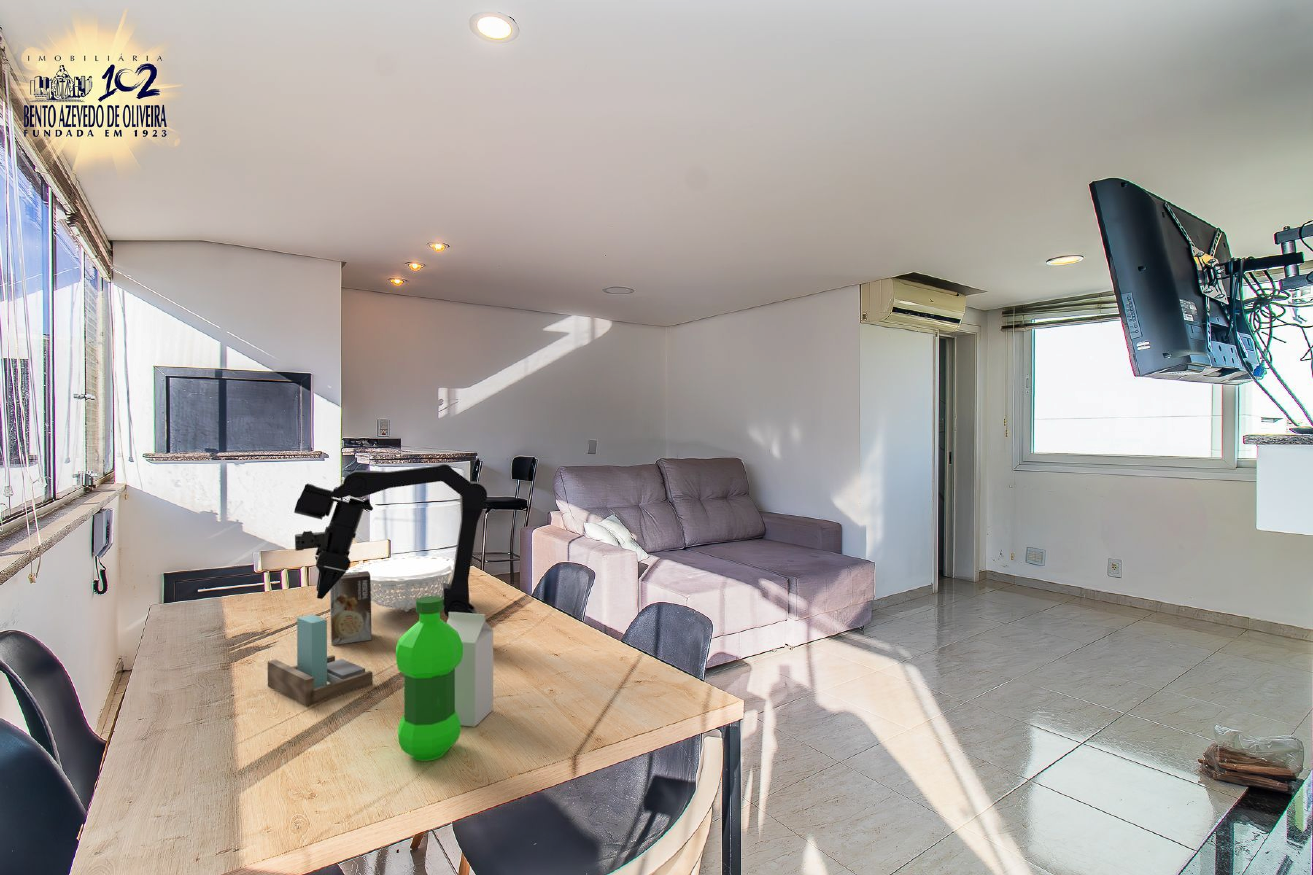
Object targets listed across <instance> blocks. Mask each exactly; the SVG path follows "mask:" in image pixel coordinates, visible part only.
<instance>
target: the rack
mask: <svg viewBox="0 0 1313 875" xmlns="http://www.w3.org/2000/svg"><path fill="white" fill-rule="evenodd" d="M333 661H336V656H335V655H333V654H331V655H329V656H328V655H327V663H330V662H333ZM373 679H374V678H373V671H371V670H369V671H365V673H362V674H359V675H355V676H352V677H349V678H346V679H343V680H340V681H337V682H333V683H330V682H329V683H327V685H324V686H321V687H318V688H315V689H314V677H311V676H309V675H307V674H305V673H303V672H301V671H299V670H297V665H292V666H290V665H289V664H286V663H284V662H282V661H281V660H278V659H276V658H275V659H271V660H268V661H267V686H268V687H270V689H273V690H275V691H276V692H278V693H280V694H282V695H284V696H286V697H288V698H289V699H291V700H293V701H295V702H297V703H299V704H300V705H302V706H304V707H310V706H312V705H314V704H317V703H320V702H324V701H327V700H329V699H333V698H336V697H339V696H341V695H344V694H347V693H350V692H354V691H356V690H360V689H363V688H365V687H368V686H371V685H373Z"/></svg>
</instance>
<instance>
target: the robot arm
mask: <svg viewBox="0 0 1313 875" xmlns="http://www.w3.org/2000/svg"><path fill="white" fill-rule="evenodd" d="M439 482H443V483H444V485H447V486H448V487H449V488H451V489H452V490H453V491H455V492H456V493H457V494H458V495H459V498H460V499H459V503H460V504H459V505H460V507H459V508H460V525H459V530H458V537H457V542H456V549H455V554H454V556H455V557H454V559H455V560H453V561H454V566H453V573H451V577H450V578H449V579H450V580H449V581H448V584H447V583H445V582H444V583H443V588H442V590H443V593H442V595H440V597H443V612H444V615H445V616H446V618H447V619H448V618H449V612H457V613H472V614H478V611H477V609H476V607H475V606H474V605H473V604H471V603H470V588H469V579H470V578H469V577H470V571H471V565H472V558H473V552H474V546H475V540H476V534H477V529H478V528H477V527H478V523H479V520H480V517H481V515H482V514H483V511H484V508H485V504H486V501H487V498H488V492H487V488H485V487H484V485H483V484H481V483H480V482H477V481H470V480H469V479H467V478H466V477H464V476H463V475H461V474H460V473H459V472H458V471H456V470H454V469H453V467H452V466H451V465H450V464H447V463H441V464H439V465H431V466H430V465H429V466H424V467H415V468H414V467H413V468H409V469H407V468H406V469H400V470H391V471H385V470H384V471H382V470H381V471H380V470H365V469H364V470H362V469H357V470H354V471H352V472H350V473H349V474H348V475H347V476H346V477H345V478H344V480H343V483H342V484H340V485H339V486H335V487H334V488H333V490H331V489H326V488H323V487H319V486H316V485H314V484H312V483H306V484H305V485H304V487H303V490H302V492H301V494H300V495H299V496H300V497H299V498H297V501H296V504H295V507H294V512H293V513H294V514H296V515H301V516H305V517H309V518H313V519H317V520H323V518H325V517H329V516H330V514H331V513H332V509H333V507H334V503H336V504H335V507H334V510H333V513H332V516H331V519H330V521H329V524H328V526H326V527H325V529H324V531H319V532H316V531H315V532H313V531H312V530H307V531H303V532H302V533H296V534H294V546H295V548H294V549H295V551H297V552H298V551H304V550H308V549H316V550H315V554H314V555H315V556H314V558H315V560H316V563H315V566H316V569H317V570H318V576H317V582H316V590H315V591H317V595H316V598H317V599H318V600H323V598H325V597H326V595H327V594H328V593H330V589H331V588H332V587H333V586H334V585H335V584H336V583H337V581H338V580H339V579H340V578H341V577H342V576H343V575H344V574H345V573H346V570H349V568H350V566H351V562H352V561H351V560H350V558H349V555H350V553H351V552H350V550H351V548H352V544H353V541H354V539H355V538H356V535H357V530H358V528H359V524H360V522H361V521H360V520H361V519H362V515H363V513H364V510H367V511H370V512H371V511H373V510H374V507H373V505H372V504H371V502H370V498H367V499H366V500H361V499H357V498H363V497H366V496H369V495H373V494H377V493H379V492H382V491H385V490H387V489H391V488H393V489H394V488H401V487H407V486H415V485H422V484H423V485H424V484H430V483H439ZM346 497H350V498H349V500H348V501H345V500H341V499H342V498H346Z"/></svg>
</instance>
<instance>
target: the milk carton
mask: <svg viewBox="0 0 1313 875" xmlns="http://www.w3.org/2000/svg"><path fill="white" fill-rule="evenodd" d="M446 623H447V624H448V625H450V626H451V627H452V628H453V629H455V630H456V631H457V632H458V634H459V636H460V639H461V641H462V644H463V656H462V660H461V662H460V663H459V664H458V666H457V667H456V668H455V710H456V712H457V714H458V717H459V720H460V724H461V726H462V727H463V726H464V727H465V726H466V727H476V726H477V725H478V724H480V723H481V722H482V721H483V719H486V718H485V717H487V716H488V715H489V714H490V713H491V712H492V711H493V710H494V629H493V628H492V627H491V626H490V625H489V624H488V622H487V620H486V614H485V613H484V614H483V613H482V614H481V613H477V614H472V613H457V612H449V618H448V617H447V620H446Z"/></svg>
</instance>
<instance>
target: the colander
mask: <svg viewBox="0 0 1313 875" xmlns="http://www.w3.org/2000/svg"><path fill="white" fill-rule="evenodd" d="M454 560H455V558H452V557H451V558H450V557H447V556H441V557H440V556H432V555H430V556H429V555H424V556H403V557H391V558H390V557H389V558H383V559H377V560H371V561H367V562H364V563H357V564H356V565H354V566H351V567H349V568H348V570H346V573H352V572H363V571H368V572H369V573H370V580H371V603H374V604H375V605H377V606H379V607H380V606H381V607H385V608H389V609H391V608H392V609H395V610H401V611H403V610H404V611H405V612H406V613H407V612H409V610H411V609H413V608H415V609H416V599H419V598H421V597H427V596H439V597H441V596H442V593H443V583H447V584H449V579H450V578H451V577H450V576H451V575H452V573H453V566H454ZM391 591H394V592H391Z"/></svg>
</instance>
